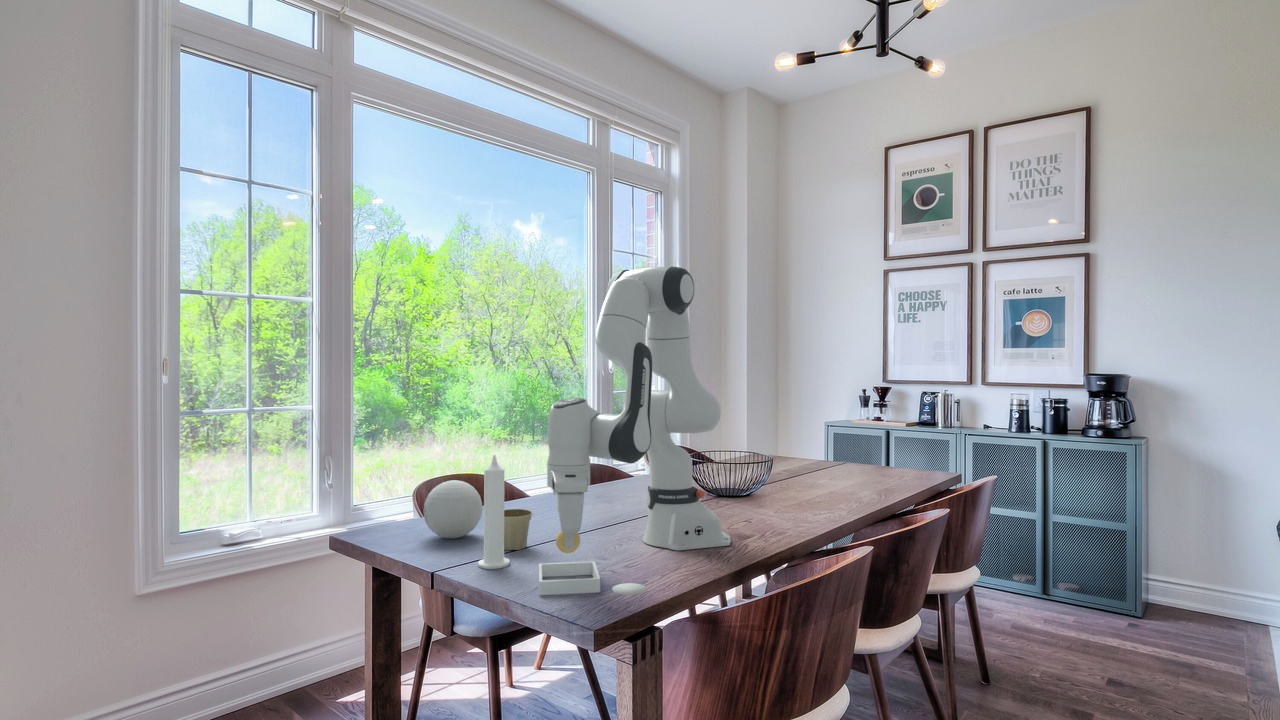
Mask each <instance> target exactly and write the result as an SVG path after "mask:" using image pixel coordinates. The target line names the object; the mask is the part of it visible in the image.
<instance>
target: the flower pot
mask: <svg viewBox="0 0 1280 720" xmlns="http://www.w3.org/2000/svg"><path fill="white" fill-rule="evenodd" d="M533 514H534V512H533V511H532V510H530V509H525V508H508V509H504V551H505V550H506V551H512V550H515V551H520V550H523V549H525V548H526V547H527V545H528V537H529V536H528V535H529V529H530V521H531V519H532V515H533Z"/></svg>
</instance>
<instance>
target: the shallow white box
mask: <svg viewBox="0 0 1280 720" xmlns="http://www.w3.org/2000/svg"><path fill="white" fill-rule="evenodd" d="M587 575H588V576H590V575H592V577H591V578H573V579H572V578H569V579H567V578H566V579H548V580H545V579H544V580H543V578H548V577H569V576H570V577H571V576H572V577H573V576H587ZM538 592H539V594H538V595H539V596H549V595H551V596H553V595H571V594H572V595H574V594H575V595H576V594H589V593H590V594H591V593H601V576H600V574H599V571H598V567H597V564H596V561H595V560H594V561H593V560H591V561H575V562H574V561H571V562H550V563H549V562H547V563H538Z"/></svg>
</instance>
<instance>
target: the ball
mask: <svg viewBox="0 0 1280 720" xmlns="http://www.w3.org/2000/svg"><path fill="white" fill-rule="evenodd" d="M555 544H556V547H557V548H558V550H559V552H562V553H565V554H571V553H574V552H575V551H576V550H577V549H578V548H579V547H580V544H581V537H580V534H579V532H575V536H574V548H573V549H565V545H564V544H565V538H564V532H562V530H559V532H558V533H557V535H556V537H555Z"/></svg>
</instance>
